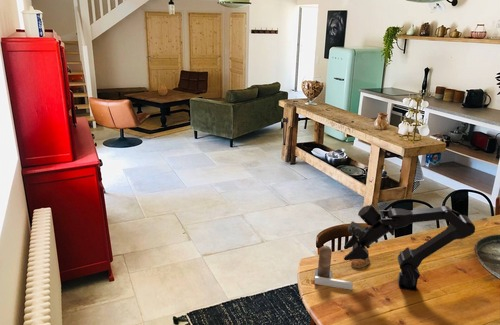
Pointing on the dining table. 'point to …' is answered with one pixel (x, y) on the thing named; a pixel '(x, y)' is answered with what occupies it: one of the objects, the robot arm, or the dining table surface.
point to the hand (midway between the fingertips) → (344, 253)
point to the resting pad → (319, 276)
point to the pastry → (360, 262)
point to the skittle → (324, 261)
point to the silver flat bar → (333, 282)
